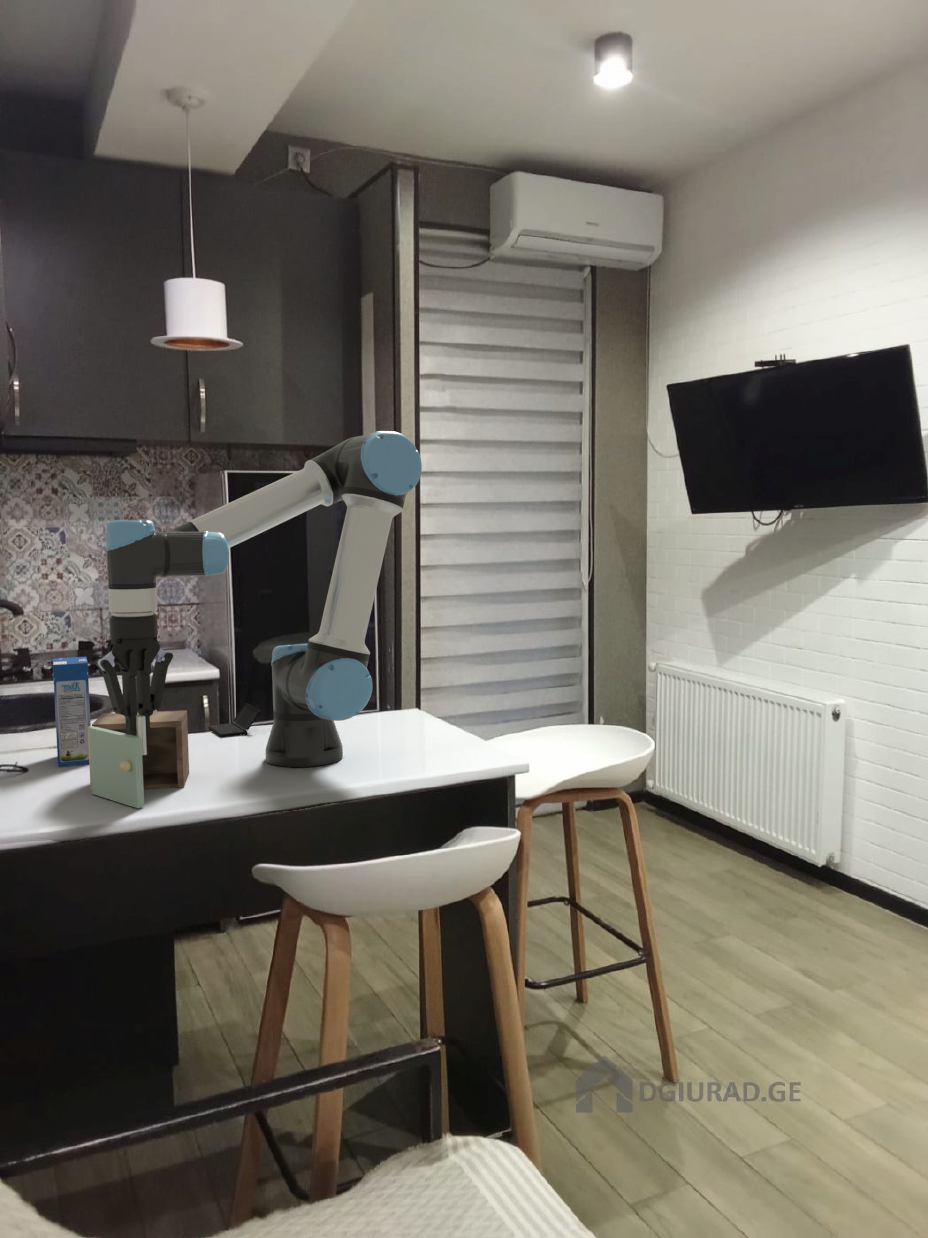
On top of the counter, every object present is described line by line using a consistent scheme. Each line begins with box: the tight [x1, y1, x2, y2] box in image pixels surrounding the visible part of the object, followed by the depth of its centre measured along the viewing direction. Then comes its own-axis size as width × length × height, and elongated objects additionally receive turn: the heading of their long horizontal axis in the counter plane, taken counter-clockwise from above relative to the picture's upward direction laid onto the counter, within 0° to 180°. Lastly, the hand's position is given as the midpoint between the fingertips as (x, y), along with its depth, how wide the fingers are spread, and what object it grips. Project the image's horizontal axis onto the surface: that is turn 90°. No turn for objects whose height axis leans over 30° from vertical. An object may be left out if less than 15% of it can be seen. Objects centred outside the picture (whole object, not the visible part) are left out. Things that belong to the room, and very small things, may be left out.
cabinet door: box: [88, 725, 145, 809], centre depth 161 cm, size 15×2×12 cm, turn 51°
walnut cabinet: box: [91, 709, 190, 790], centre depth 173 cm, size 15×10×12 cm, turn 101°
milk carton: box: [52, 656, 92, 768], centre depth 190 cm, size 10×6×20 cm, turn 23°
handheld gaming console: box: [207, 702, 261, 738], centre depth 217 cm, size 12×7×10 cm
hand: (139, 753), depth 160 cm, fingers closed
